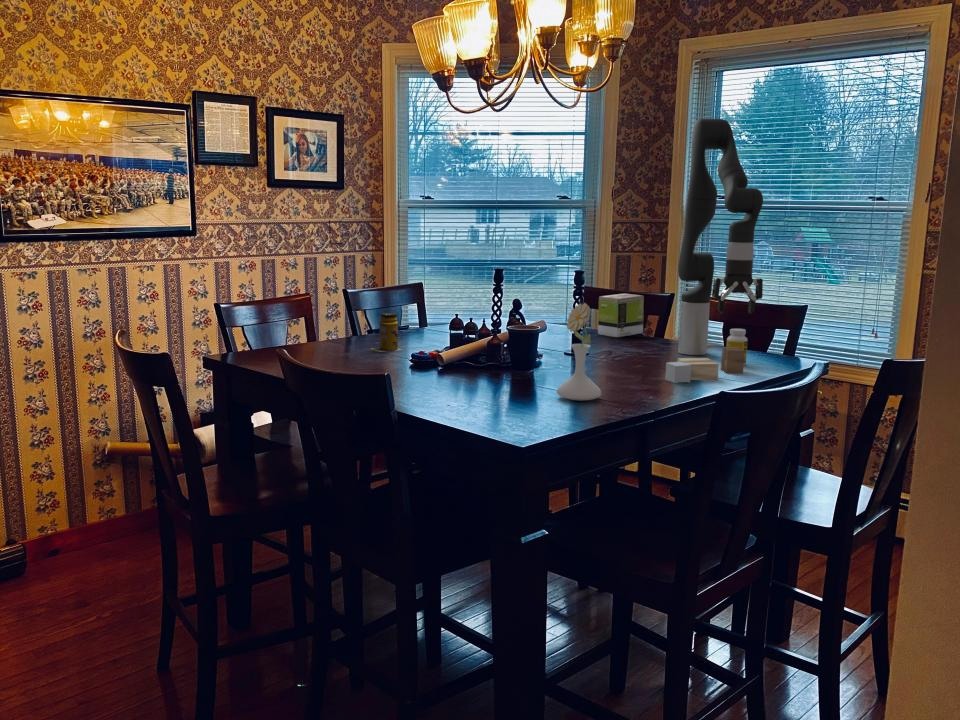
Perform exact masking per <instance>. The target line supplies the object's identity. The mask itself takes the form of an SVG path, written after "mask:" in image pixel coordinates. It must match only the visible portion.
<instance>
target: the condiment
mask: <svg viewBox="0 0 960 720" xmlns="http://www.w3.org/2000/svg"><path fill="white" fill-rule="evenodd" d="M397 317H398V315H397V313H394V312H384V313H381V314H380V322H379V347H371V348H370V347H369V348H370V350H373V351H375V352H379V353H384V352H397V351H403V349H402V348H399V322H398V319H397Z"/></svg>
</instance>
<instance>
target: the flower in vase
mask: <svg viewBox="0 0 960 720" xmlns="http://www.w3.org/2000/svg"><path fill="white" fill-rule="evenodd" d="M591 310H592V309H591V308H590V306H589V305H588V304H587V303H586V302H584V303H583V304H582V303H579V304H578V305H575V308H571V311H570V312H571V313H569V315H568V318H567V320H566V323H567V324H566V328H567V330H569V332H570V333H572V332H573V333H574V336H575V337H576V338H578V339H579V340H580V341H582V343H572V344H571V345H570V347H571V348H572V350H573V353H574V358H575V368H574V373H573V375H572V376H570V378H568V379H567V380H565V381H564V382H563V383H561V385H560V386H558V387H557V389H556V393H557V395H558V396H559V397H561V398H563V399H566V400H571V401H578V402H579V401H580V402H581V401H582V402H583V401H592V400H596V399H598V398H600V396H601V395H602V393H603V392H602V390H601V389H600V387H599V386H598V385H596V383H594V382H593V381H592V380H591V379H590V378H589V377H588V376H587V375H586V372H585V362H586V356H587V353H588V351H589V349H590V348H591V347H592V346H591V343H592V341H591V334H588V333H587V329H586V323H587V321H588V320H589V319H590V315H591V312H592V311H591ZM582 328H583V329H584V332H585V334H584V336H583V335H582V334H580V333H579V332H578V331H579V330H580V329H582Z"/></svg>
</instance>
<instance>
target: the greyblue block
mask: <svg viewBox="0 0 960 720" xmlns="http://www.w3.org/2000/svg"><path fill="white" fill-rule="evenodd" d="M690 377H691V365H689V364H687V363H684V362H677V361H670V362H669V361H668V362H666V364H665V376H664V378H665V380H666V381H668V382H670V381H671V382H670V383H672V382H673V383H672V384H679V383H678V382H688V383H691V381H690Z"/></svg>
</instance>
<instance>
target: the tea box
mask: <svg viewBox="0 0 960 720" xmlns="http://www.w3.org/2000/svg"><path fill="white" fill-rule="evenodd" d="M644 301H645V296H644V295H640V294H631V293H618V294H616V293H615V294H610V295H609V294H608V295H601V296H599V297H598V316H597V317H598V320H597V321H598V324H597V325H598V326H597V334H598V335H601V336H606V337H613V338H622V337H626V336H633V335H639V334H643V333H644V312H645V311H644V310H645V309H644V308H645V306H644V303H645V302H644Z"/></svg>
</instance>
